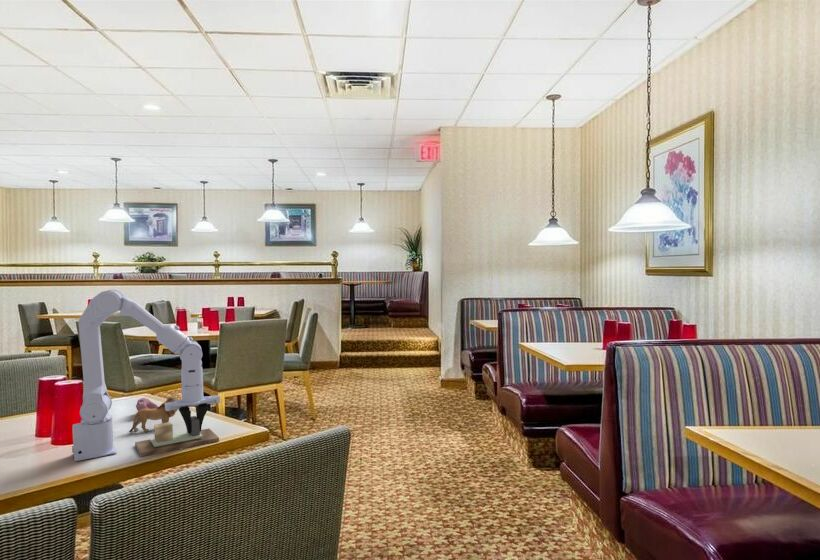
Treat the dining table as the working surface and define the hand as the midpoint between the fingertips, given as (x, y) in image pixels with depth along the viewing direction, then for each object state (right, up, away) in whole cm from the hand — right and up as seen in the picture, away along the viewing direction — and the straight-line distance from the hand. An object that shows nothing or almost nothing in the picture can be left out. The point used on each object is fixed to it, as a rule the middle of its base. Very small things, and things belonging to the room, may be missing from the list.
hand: (194, 431), depth 153 cm
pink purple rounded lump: (-27, -3, +28) cm, 39 cm away
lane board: (-4, -3, -2) cm, 5 cm away
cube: (-7, -1, -4) cm, 8 cm away
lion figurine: (-17, -3, +13) cm, 21 cm away
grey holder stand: (-4, -1, -3) cm, 5 cm away
